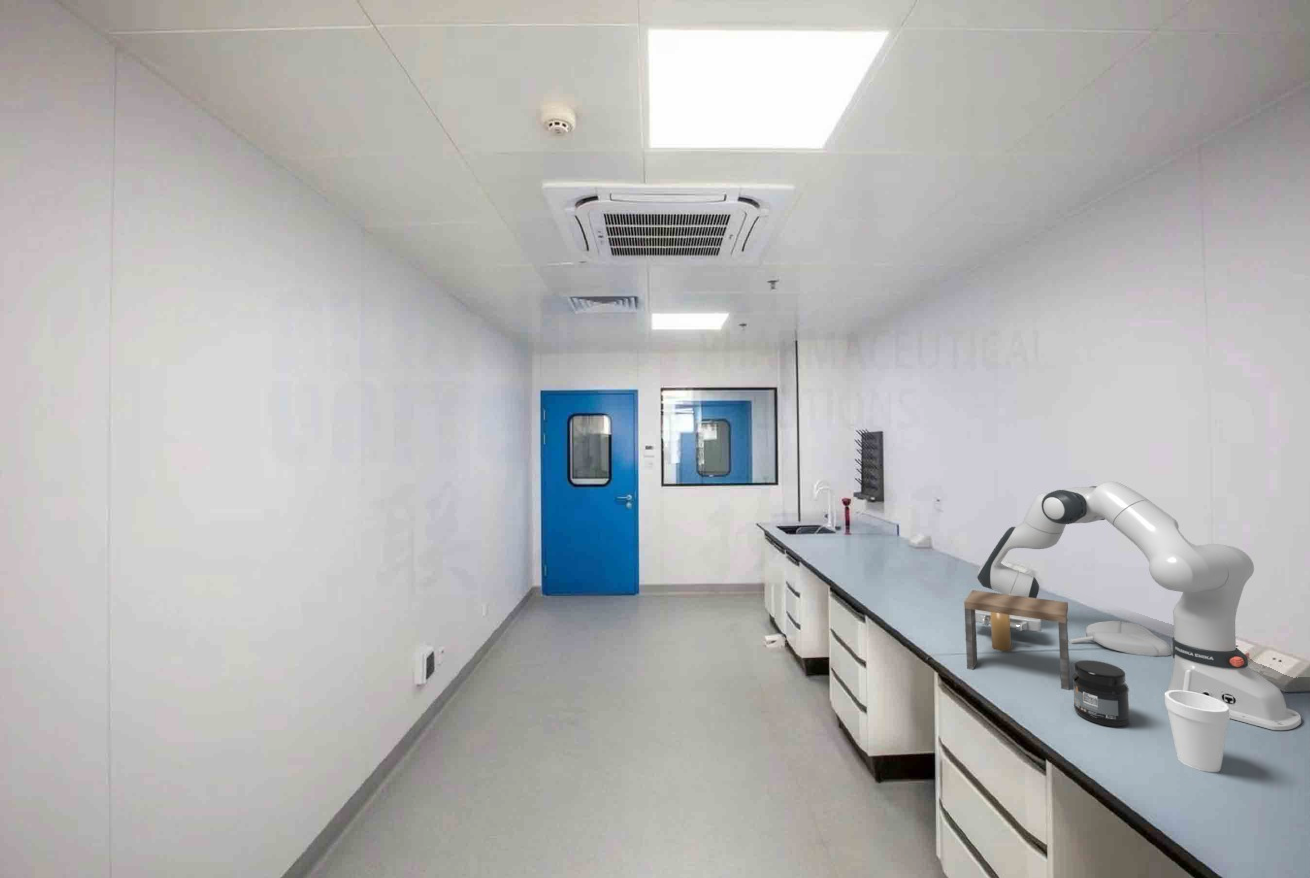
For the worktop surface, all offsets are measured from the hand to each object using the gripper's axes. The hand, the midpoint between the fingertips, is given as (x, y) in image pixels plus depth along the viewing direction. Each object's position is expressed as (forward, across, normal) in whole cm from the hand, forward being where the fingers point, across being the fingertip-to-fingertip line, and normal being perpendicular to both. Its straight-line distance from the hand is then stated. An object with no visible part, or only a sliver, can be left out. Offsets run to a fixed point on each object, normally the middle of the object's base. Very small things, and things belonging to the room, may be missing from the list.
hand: (1001, 625), depth 174 cm
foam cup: (+48, +40, +7) cm, 63 cm away
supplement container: (+37, +25, +7) cm, 45 cm away
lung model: (-20, +28, +8) cm, 35 cm away
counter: (+17, +6, +7) cm, 20 cm away
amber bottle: (+2, 0, +7) cm, 7 cm away
